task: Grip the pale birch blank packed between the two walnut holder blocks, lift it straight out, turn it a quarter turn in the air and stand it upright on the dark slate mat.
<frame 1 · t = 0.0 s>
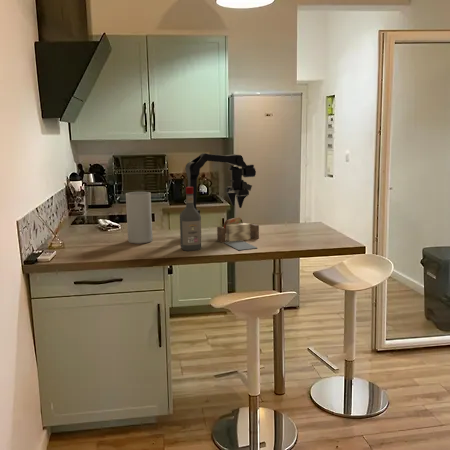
hand: (236, 206, 286), 15 cm above the countertop, tool pointing down, fingers open, 9 cm apart
holder: (238, 239, 273), on the countertop
liquor: (191, 249, 255), on the countertop
mat: (240, 245, 260), on the countertop
blank: (238, 239, 273), on the countertop
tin: (233, 233, 288), on the countertop
cylinder vase: (140, 241, 272), on the countertop
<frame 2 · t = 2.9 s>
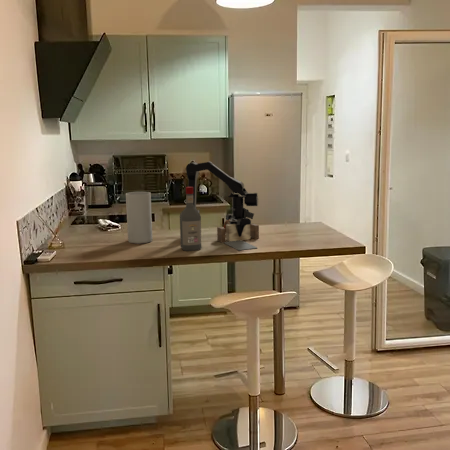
hand: (238, 235, 273), 2 cm above the countertop, tool pointing down, fingers closed on blank, 4 cm apart
blank: (238, 239, 273), on the countertop, touching gripper
everything else where it was.
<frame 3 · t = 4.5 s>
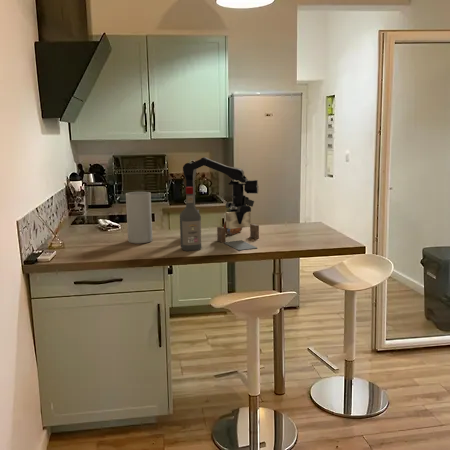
hand: (238, 223, 272), 9 cm above the countertop, tool pointing down, fingers closed on blank, 4 cm apart
blank: (238, 227, 272), point 6 cm above the countertop, touching gripper
everything else where it was.
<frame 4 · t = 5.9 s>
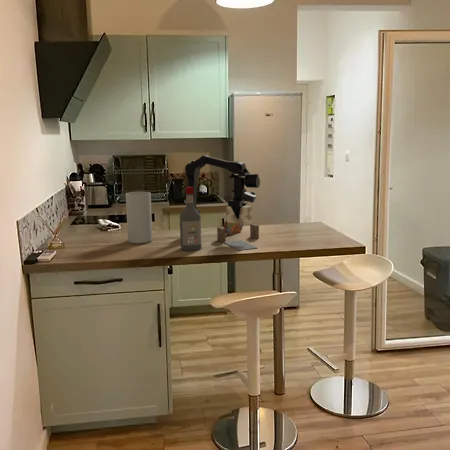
hand: (239, 218, 265), 12 cm above the countertop, tool pointing down, fingers closed on blank, 4 cm apart
blank: (239, 222, 265), point 10 cm above the countertop, touching gripper
everything else where it was.
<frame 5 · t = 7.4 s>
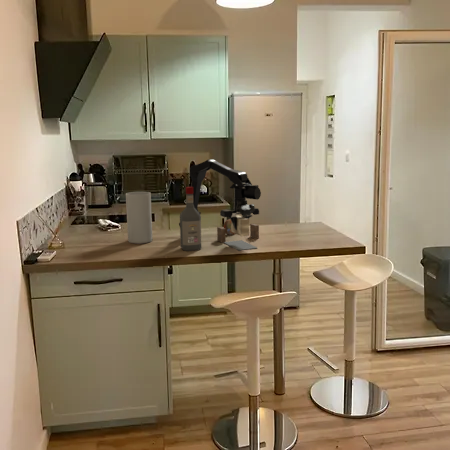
hand: (239, 229, 258), 8 cm above the countertop, tool pointing down, fingers closed on blank, 4 cm apart
blank: (240, 233, 259), point 6 cm above the countertop, touching gripper
everything else where it was.
when the fingers open (4 cm above the countertop, at t = 8.9 s): blank drops 1 cm, resting on mat.
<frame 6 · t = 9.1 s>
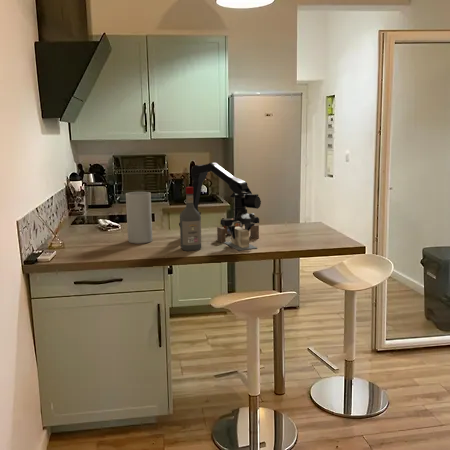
hand: (240, 238, 259), 4 cm above the countertop, tool pointing down, fingers open, 6 cm apart
blank: (240, 244, 260), resting on mat
everything else where it was.
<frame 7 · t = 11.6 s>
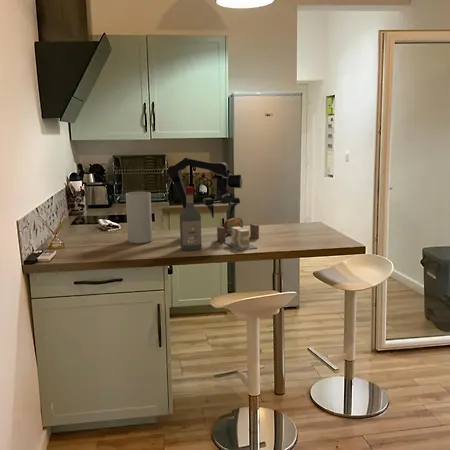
hand: (221, 217, 272), 12 cm above the countertop, tool pointing down, fingers open, 9 cm apart
nothing on the countertop moved.
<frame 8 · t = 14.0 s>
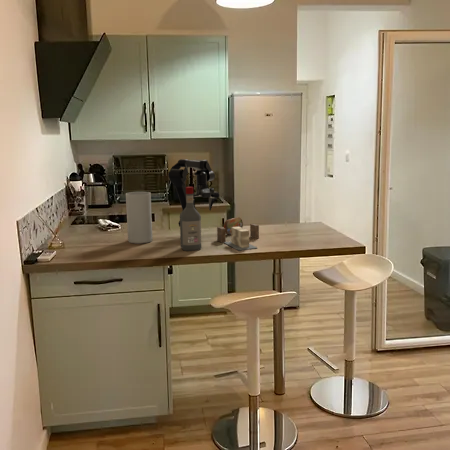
hand: (202, 211, 290), 12 cm above the countertop, tool pointing down, fingers open, 9 cm apart
nothing on the countertop moved.
at the end: blank inside the target area on the mat (0.0 cm from its centre), point 0.4 cm above the mat's base; blank tilted 0°; the gripper is holding nothing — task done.
